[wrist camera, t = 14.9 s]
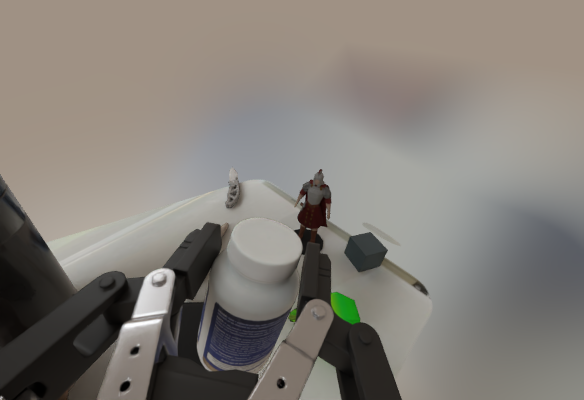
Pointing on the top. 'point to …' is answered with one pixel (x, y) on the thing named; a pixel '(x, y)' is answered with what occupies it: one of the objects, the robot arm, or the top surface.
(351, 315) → the apple
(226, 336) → the pill bottle
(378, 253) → the slate block
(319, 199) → the figurine
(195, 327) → the carrying case
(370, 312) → the top surface
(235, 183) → the knife
